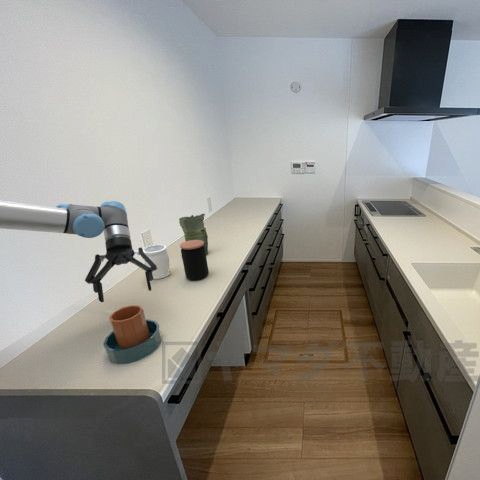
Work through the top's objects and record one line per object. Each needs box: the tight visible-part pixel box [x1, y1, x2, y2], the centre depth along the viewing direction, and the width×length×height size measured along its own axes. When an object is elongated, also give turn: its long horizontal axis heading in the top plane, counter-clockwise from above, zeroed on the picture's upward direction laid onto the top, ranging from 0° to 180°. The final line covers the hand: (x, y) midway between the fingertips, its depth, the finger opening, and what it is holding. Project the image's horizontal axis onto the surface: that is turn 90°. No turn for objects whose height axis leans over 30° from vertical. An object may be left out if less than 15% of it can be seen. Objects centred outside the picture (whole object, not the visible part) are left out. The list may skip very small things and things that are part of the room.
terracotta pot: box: [108, 304, 150, 349], centre depth 86 cm, size 8×9×13 cm
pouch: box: [178, 213, 209, 255], centre depth 154 cm, size 11×12×25 cm
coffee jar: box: [179, 240, 209, 282], centre depth 131 cm, size 11×11×18 cm
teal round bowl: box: [102, 318, 163, 365], centre depth 87 cm, size 15×15×6 cm
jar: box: [142, 244, 171, 280], centre depth 131 cm, size 11×10×15 cm
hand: (126, 295), depth 89 cm, fingers open, 13 cm apart
